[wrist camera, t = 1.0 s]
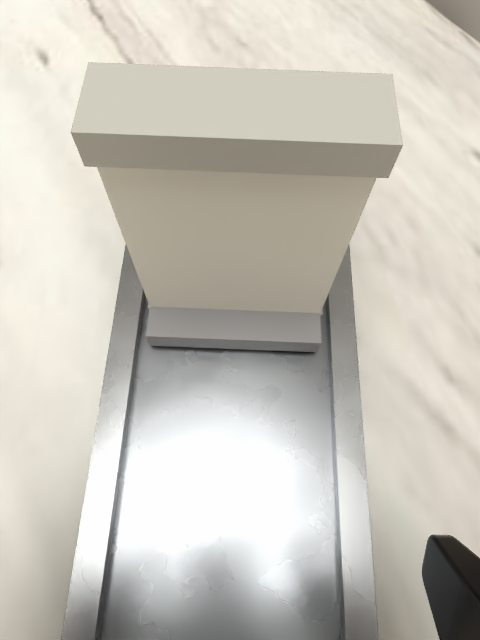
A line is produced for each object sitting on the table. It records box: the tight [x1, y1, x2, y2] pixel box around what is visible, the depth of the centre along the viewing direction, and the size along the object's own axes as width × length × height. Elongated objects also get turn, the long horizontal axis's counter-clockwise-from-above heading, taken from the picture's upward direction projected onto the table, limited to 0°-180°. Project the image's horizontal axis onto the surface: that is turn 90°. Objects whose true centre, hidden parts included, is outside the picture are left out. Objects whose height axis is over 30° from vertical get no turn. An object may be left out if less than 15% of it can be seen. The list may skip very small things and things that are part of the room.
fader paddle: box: [71, 62, 403, 352], centre depth 18 cm, size 5×8×12 cm, turn 88°
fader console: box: [61, 245, 378, 640], centre depth 23 cm, size 24×12×3 cm, turn 178°
